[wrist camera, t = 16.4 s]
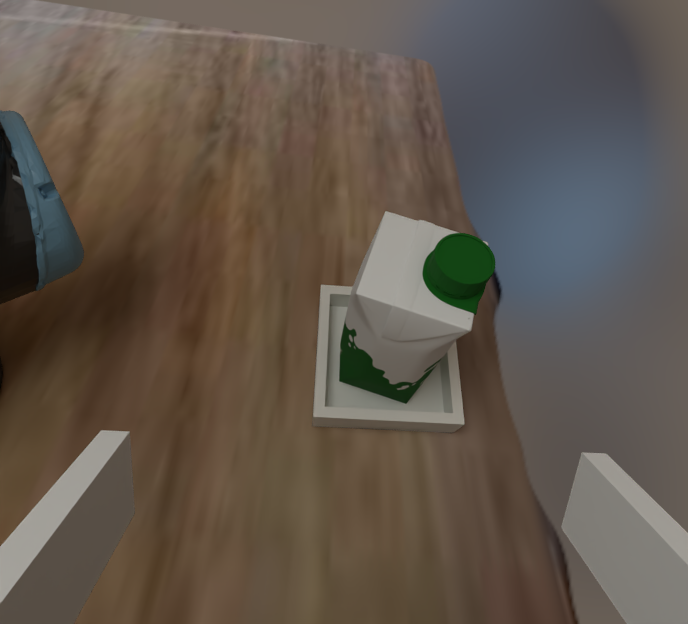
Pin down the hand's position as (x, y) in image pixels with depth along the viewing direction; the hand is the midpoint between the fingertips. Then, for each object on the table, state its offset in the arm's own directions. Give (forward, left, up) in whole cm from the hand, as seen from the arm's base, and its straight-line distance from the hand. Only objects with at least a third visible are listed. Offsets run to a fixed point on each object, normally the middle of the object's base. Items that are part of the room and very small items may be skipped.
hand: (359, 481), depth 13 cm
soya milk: (+6, +15, -29) cm, 33 cm away
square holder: (+6, +16, -30) cm, 34 cm away
